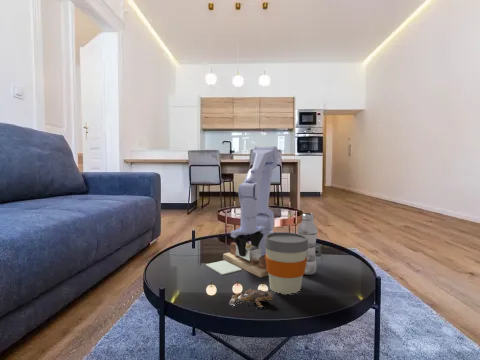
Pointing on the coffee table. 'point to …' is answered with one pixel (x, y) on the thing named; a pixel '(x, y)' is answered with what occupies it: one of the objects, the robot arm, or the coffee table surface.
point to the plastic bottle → (309, 241)
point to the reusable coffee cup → (285, 261)
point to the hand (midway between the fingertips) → (248, 254)
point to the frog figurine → (252, 297)
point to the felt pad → (223, 267)
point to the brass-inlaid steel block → (250, 252)
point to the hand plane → (247, 262)
